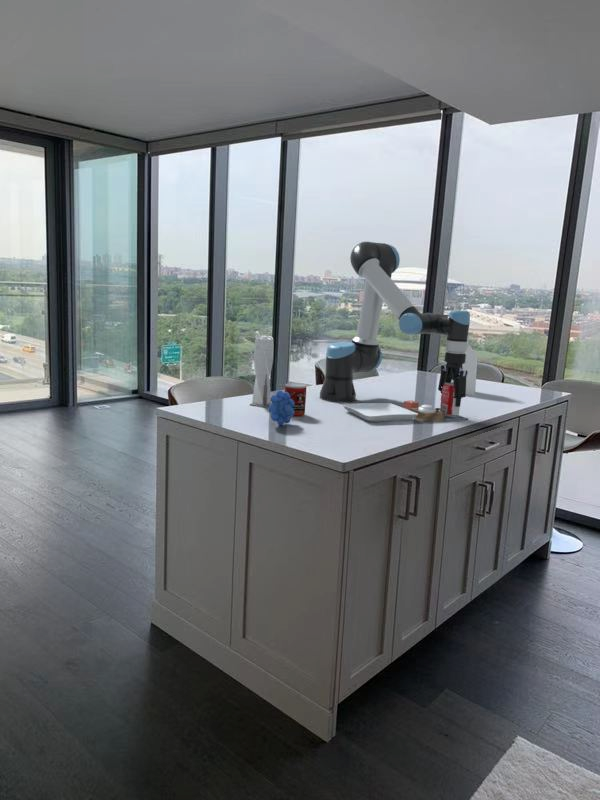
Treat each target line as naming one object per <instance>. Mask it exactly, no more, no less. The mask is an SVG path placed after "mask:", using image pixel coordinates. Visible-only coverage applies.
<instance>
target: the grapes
mask: <svg viewBox="0 0 600 800" xmlns="http://www.w3.org/2000/svg"><path fill="white" fill-rule="evenodd" d="M271 403H273V404H270V405H269V407H268V411H269V413H271V414H270V419H271V420H272V421H273V422H276V423H277V425H278V426H283V425H284V424H289V423H290V422H291V420H292V419H291V417H293V415H294V413H295V412H294V409H293V408H292V407H293V406H294V401H293V400H292V399H290V394H289V393H288V392H285V391H283V390H277V391H276V393H275V394H273V395H271Z"/></svg>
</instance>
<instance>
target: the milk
mask: <svg viewBox="0 0 600 800" xmlns="http://www.w3.org/2000/svg"><path fill="white" fill-rule="evenodd" d="M464 353H465V354H466V359H465V363H464V364H463V365H462V367H463V370H464V371H467V372H468V373H467V377H466V394H467V395H466V396H476V387H477V386H476V385H477V372H478V371H477V370H478V354H477V353H476V351H475V350H474V349H473V348H472V347H471V346H470V344H469V338H468V339H467V349H466V352H464ZM451 382H453V380H452V381H451ZM453 383H454V382H453Z"/></svg>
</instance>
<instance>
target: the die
mask: <svg viewBox="0 0 600 800" xmlns="http://www.w3.org/2000/svg"><path fill="white" fill-rule="evenodd" d="M419 403H420V402H419V401H415V400H403V407H402V408H405V409H407V410H410V408H419Z"/></svg>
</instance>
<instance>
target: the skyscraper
mask: <svg viewBox="0 0 600 800" xmlns="http://www.w3.org/2000/svg"><path fill="white" fill-rule="evenodd" d="M257 334H258V335H257ZM274 345H275V344H274V338H273V336H271V335H269V336H268V335H260V333H259V331H257V330H256V331H255V340H254V350H253V367H254V374H255V380H254V384H253V385H254V386H253V394H252V402H251V403H249V406H252V407H257V408H269V405H270V404H273V403H272V402H271V397H272V395H271V393H272V392H271V379H270V378H271V377H270V376H271V372H272V367H273V363H274V350H275V349H274V347H275V346H274Z"/></svg>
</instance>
